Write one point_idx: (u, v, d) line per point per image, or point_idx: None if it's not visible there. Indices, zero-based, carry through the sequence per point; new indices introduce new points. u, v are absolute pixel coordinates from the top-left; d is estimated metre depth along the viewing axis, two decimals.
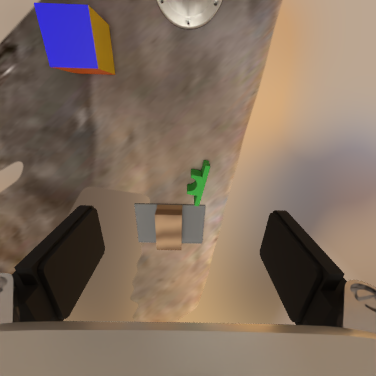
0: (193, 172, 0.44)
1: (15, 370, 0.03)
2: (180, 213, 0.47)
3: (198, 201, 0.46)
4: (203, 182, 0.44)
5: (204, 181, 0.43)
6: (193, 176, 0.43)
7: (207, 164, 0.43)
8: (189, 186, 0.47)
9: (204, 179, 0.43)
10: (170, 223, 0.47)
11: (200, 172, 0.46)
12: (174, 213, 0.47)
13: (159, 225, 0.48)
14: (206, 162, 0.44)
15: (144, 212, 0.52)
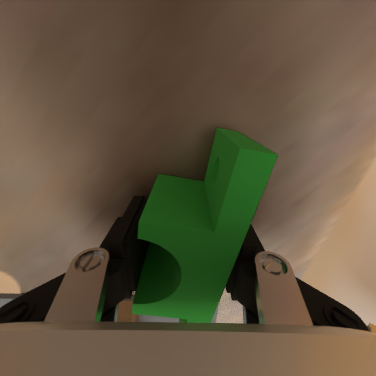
0: (159, 197, 0.08)
1: (15, 370, 0.03)
2: None
3: None
4: (221, 261, 0.07)
5: (227, 256, 0.07)
6: (152, 230, 0.06)
7: (247, 143, 0.06)
8: (153, 255, 0.10)
9: (228, 245, 0.06)
10: None
11: (200, 193, 0.09)
12: None
13: None
14: (234, 135, 0.07)
15: None
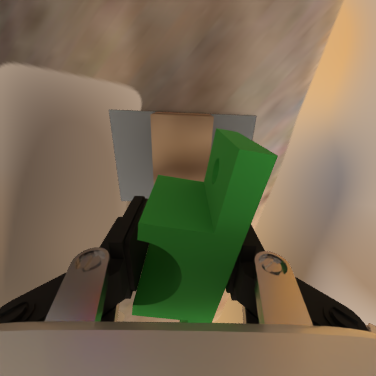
0: (159, 198, 0.08)
1: (15, 370, 0.03)
2: None
3: None
4: (221, 262, 0.07)
5: (227, 257, 0.07)
6: (151, 232, 0.06)
7: (246, 144, 0.06)
8: (153, 256, 0.10)
9: (228, 246, 0.06)
10: (185, 139, 0.21)
11: (200, 194, 0.09)
12: (196, 115, 0.20)
13: (160, 145, 0.21)
14: (233, 136, 0.07)
15: (130, 133, 0.25)
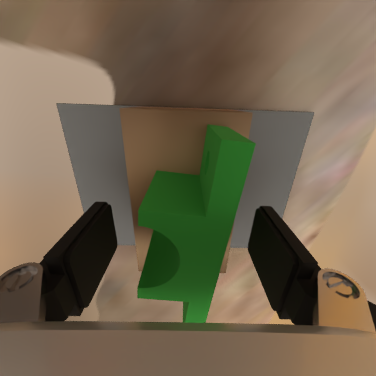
0: (157, 190, 0.09)
1: (15, 370, 0.03)
2: (241, 111, 0.10)
3: (198, 320, 0.10)
4: (214, 244, 0.08)
5: (220, 239, 0.07)
6: (150, 218, 0.07)
7: (231, 135, 0.07)
8: (156, 246, 0.11)
9: (219, 229, 0.07)
10: (192, 158, 0.11)
11: (195, 185, 0.10)
12: None
13: (143, 170, 0.11)
14: (221, 130, 0.08)
15: (98, 143, 0.15)
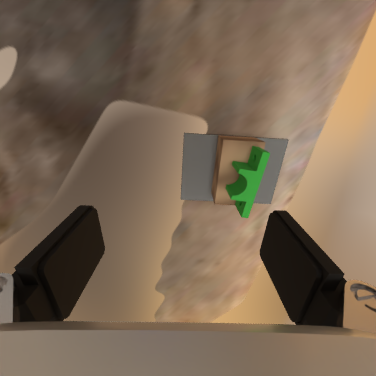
0: (239, 165, 0.28)
1: (15, 370, 0.03)
2: (261, 141, 0.30)
3: (248, 210, 0.30)
4: (257, 180, 0.28)
5: (259, 178, 0.27)
6: (242, 171, 0.27)
7: (263, 150, 0.27)
8: (230, 188, 0.31)
9: (259, 175, 0.27)
10: (244, 156, 0.31)
11: (248, 165, 0.30)
12: (253, 140, 0.30)
13: (226, 160, 0.31)
14: (259, 148, 0.28)
15: (197, 149, 0.35)
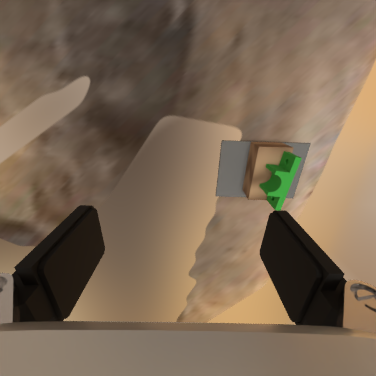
0: (274, 168, 0.35)
1: (15, 370, 0.03)
2: (289, 146, 0.37)
3: (280, 204, 0.36)
4: (290, 179, 0.34)
5: (291, 178, 0.34)
6: (278, 172, 0.33)
7: (295, 155, 0.33)
8: (265, 186, 0.38)
9: (292, 175, 0.34)
10: (275, 159, 0.37)
11: (280, 167, 0.36)
12: (283, 146, 0.36)
13: (260, 163, 0.37)
14: (290, 153, 0.35)
15: (232, 154, 0.42)
